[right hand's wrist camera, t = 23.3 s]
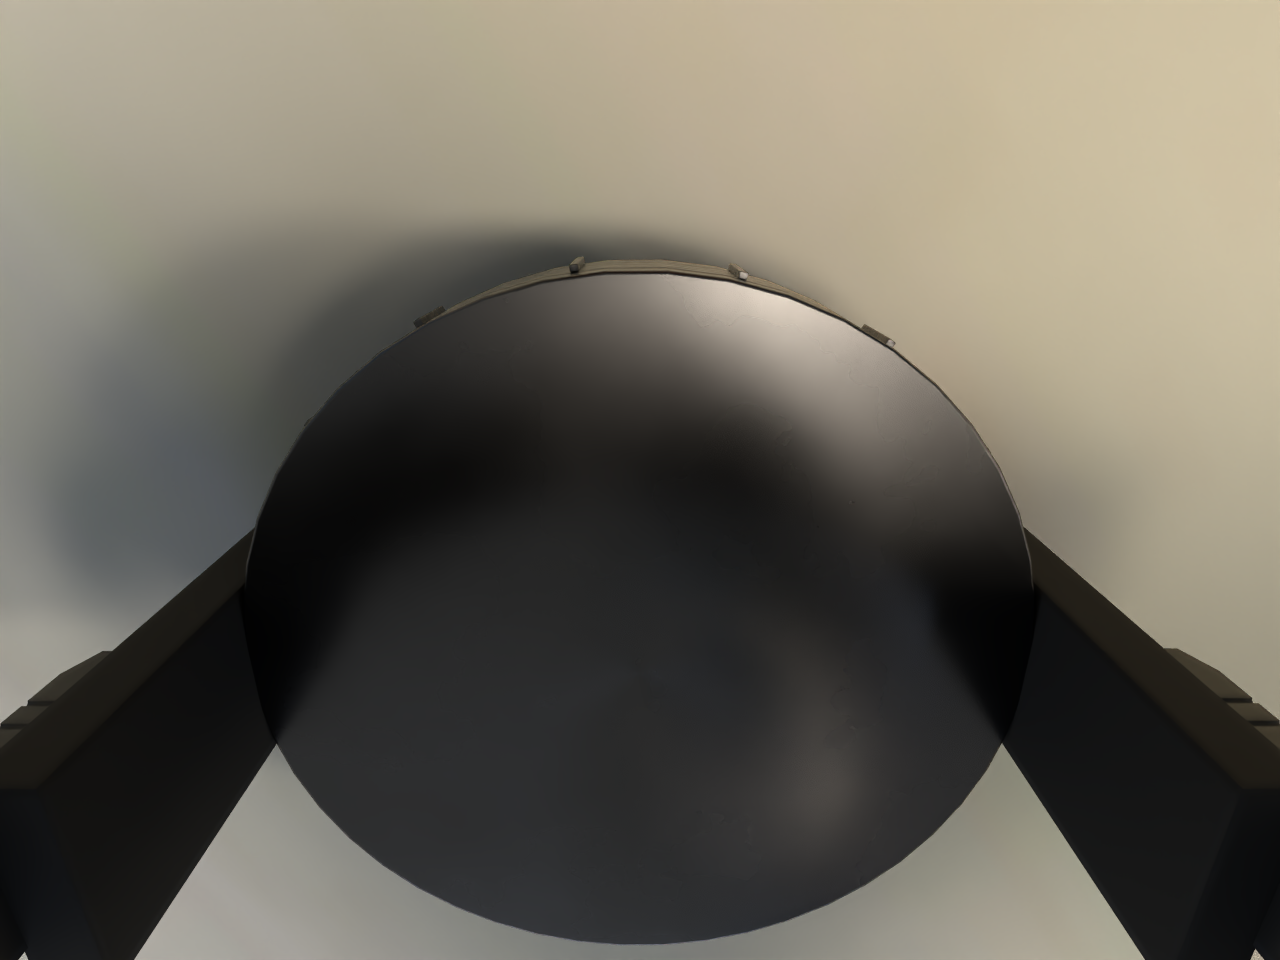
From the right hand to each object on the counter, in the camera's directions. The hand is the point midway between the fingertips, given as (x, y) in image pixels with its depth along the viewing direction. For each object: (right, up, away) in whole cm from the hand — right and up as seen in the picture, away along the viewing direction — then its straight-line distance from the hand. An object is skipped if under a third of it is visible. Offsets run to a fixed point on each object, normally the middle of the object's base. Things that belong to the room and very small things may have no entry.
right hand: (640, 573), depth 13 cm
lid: (0, -1, -3) cm, 3 cm away
